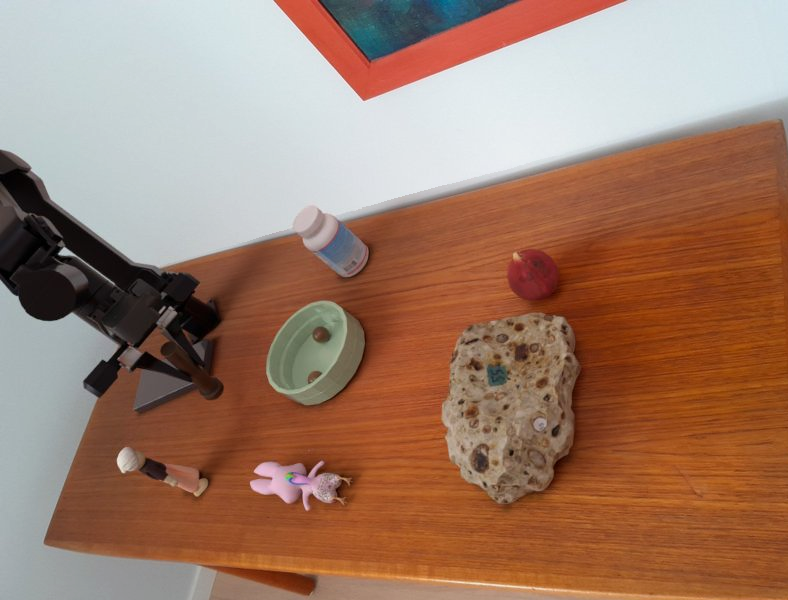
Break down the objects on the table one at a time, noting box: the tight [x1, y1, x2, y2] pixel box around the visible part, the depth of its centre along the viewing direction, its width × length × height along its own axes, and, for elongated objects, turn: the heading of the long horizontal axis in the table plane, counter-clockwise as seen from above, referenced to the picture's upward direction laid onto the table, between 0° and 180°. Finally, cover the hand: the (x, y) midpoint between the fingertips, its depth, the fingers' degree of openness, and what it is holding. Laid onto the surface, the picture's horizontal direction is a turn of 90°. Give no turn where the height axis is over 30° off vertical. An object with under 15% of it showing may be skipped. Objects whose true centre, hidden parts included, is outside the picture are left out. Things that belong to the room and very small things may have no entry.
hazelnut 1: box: [312, 326, 329, 343], centre depth 94 cm, size 2×2×2 cm
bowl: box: [265, 299, 366, 406], centre depth 92 cm, size 14×14×4 cm
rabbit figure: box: [249, 460, 353, 512], centre depth 82 cm, size 6×6×15 cm
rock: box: [440, 312, 582, 506], centre depth 70 cm, size 21×14×10 cm
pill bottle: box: [292, 204, 370, 278], centre depth 97 cm, size 6×6×11 cm
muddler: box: [159, 340, 225, 401], centre depth 89 cm, size 3×3×12 cm
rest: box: [132, 338, 215, 414], centre depth 111 cm, size 8×16×2 cm, turn 95°
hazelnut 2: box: [308, 371, 323, 384], centre depth 90 cm, size 2×2×2 cm
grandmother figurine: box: [116, 446, 209, 498], centre depth 91 cm, size 8×4×13 cm, turn 71°
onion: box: [506, 248, 560, 302], centre depth 76 cm, size 6×6×8 cm
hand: (198, 374), depth 88 cm, fingers closed on muddler, 2 cm apart
